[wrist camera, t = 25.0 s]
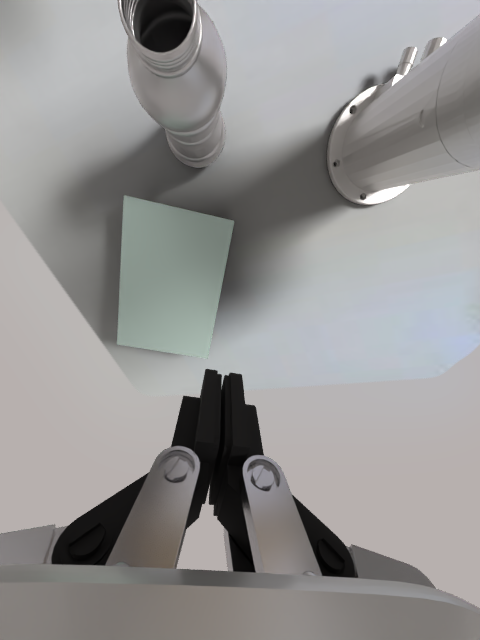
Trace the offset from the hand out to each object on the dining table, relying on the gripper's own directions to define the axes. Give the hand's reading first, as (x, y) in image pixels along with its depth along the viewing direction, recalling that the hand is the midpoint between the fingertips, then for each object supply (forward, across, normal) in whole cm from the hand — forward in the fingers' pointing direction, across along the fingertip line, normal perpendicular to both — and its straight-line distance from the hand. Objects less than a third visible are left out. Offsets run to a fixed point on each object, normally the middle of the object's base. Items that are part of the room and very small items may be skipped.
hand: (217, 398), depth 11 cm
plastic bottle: (+27, +6, -16) cm, 32 cm away
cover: (+22, +6, +1) cm, 22 cm away
